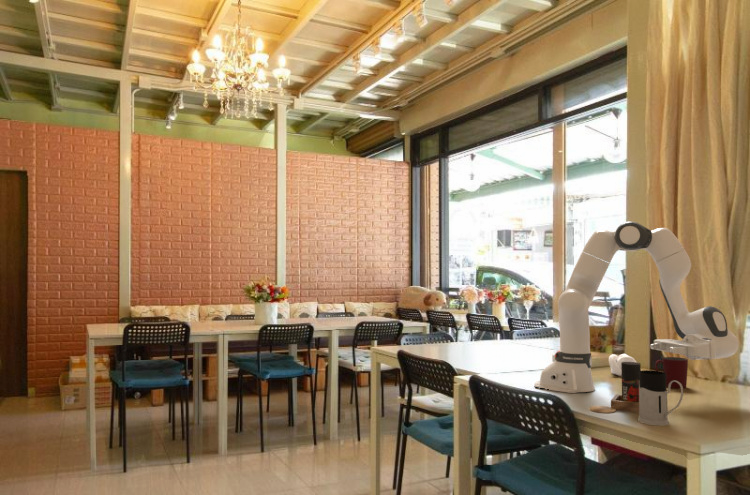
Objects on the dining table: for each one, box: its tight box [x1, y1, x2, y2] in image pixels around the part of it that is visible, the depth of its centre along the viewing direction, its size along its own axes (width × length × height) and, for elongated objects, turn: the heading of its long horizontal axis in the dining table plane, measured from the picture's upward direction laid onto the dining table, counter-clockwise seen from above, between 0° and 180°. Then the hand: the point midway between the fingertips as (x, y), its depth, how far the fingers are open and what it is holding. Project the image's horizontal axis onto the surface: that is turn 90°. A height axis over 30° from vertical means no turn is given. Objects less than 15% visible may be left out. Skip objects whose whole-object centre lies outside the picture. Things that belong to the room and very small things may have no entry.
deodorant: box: [621, 361, 642, 403], centre depth 199 cm, size 6×6×15 cm
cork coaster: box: [589, 405, 616, 414], centre depth 196 cm, size 8×8×1 cm
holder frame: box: [610, 393, 639, 414], centre depth 199 cm, size 11×11×3 cm
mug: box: [654, 356, 689, 390], centre depth 234 cm, size 12×9×11 cm
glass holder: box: [637, 369, 684, 426], centre depth 180 cm, size 9×14×15 cm, turn 28°
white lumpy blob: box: [608, 353, 638, 378], centre depth 260 cm, size 11×12×9 cm
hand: (661, 348), depth 203 cm, fingers open, 8 cm apart
